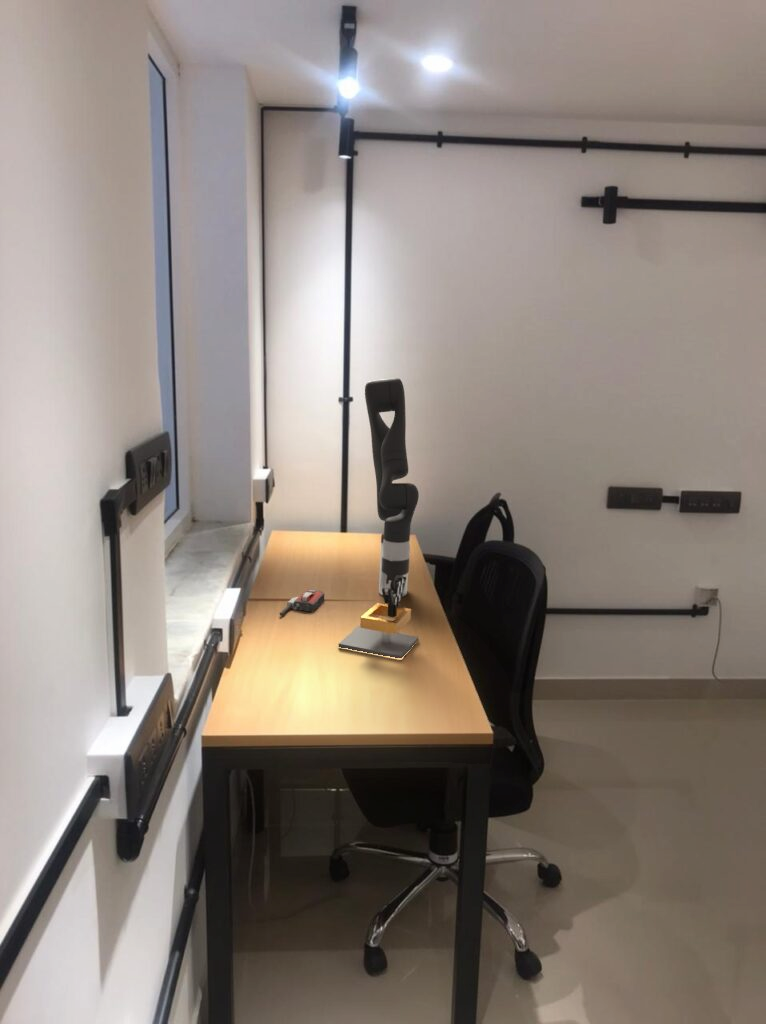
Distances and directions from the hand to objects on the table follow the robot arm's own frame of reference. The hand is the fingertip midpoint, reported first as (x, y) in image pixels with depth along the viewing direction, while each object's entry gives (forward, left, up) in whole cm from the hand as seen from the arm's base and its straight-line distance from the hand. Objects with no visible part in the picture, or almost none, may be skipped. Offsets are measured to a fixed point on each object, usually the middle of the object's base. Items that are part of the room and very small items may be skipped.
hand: (392, 615), depth 212 cm
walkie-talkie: (-11, -33, -8) cm, 36 cm away
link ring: (+5, 0, -1) cm, 5 cm away
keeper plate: (+5, -2, -7) cm, 9 cm away
